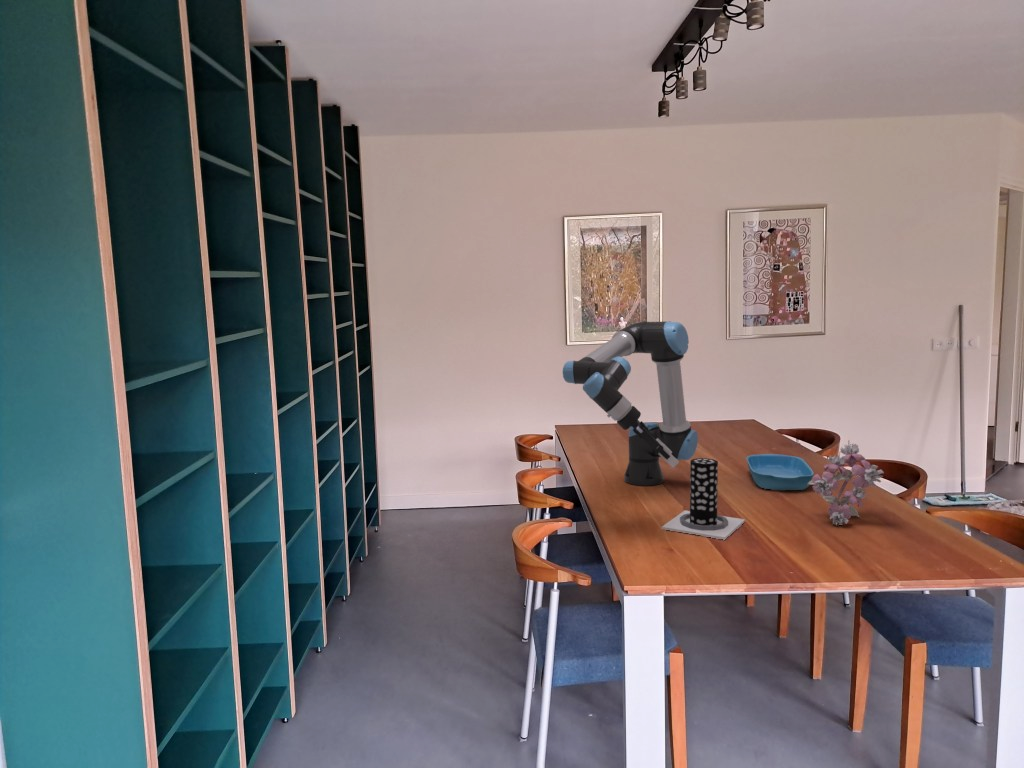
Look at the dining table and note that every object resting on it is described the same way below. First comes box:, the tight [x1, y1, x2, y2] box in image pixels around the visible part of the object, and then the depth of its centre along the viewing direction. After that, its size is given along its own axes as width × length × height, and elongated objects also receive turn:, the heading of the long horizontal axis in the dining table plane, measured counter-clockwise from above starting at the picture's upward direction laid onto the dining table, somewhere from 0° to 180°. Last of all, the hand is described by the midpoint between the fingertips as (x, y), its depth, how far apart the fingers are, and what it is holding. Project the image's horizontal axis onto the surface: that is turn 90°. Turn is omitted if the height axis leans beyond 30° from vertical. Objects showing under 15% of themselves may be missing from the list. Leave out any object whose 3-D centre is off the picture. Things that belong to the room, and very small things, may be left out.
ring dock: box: [661, 509, 746, 541], centre depth 230 cm, size 20×20×2 cm
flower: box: [807, 440, 885, 526], centre depth 233 cm, size 20×22×25 cm
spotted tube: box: [689, 457, 719, 525], centre depth 229 cm, size 8×8×20 cm
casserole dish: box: [746, 453, 815, 491], centre depth 281 cm, size 37×22×7 cm, turn 169°
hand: (672, 459), depth 228 cm, fingers open, 13 cm apart
